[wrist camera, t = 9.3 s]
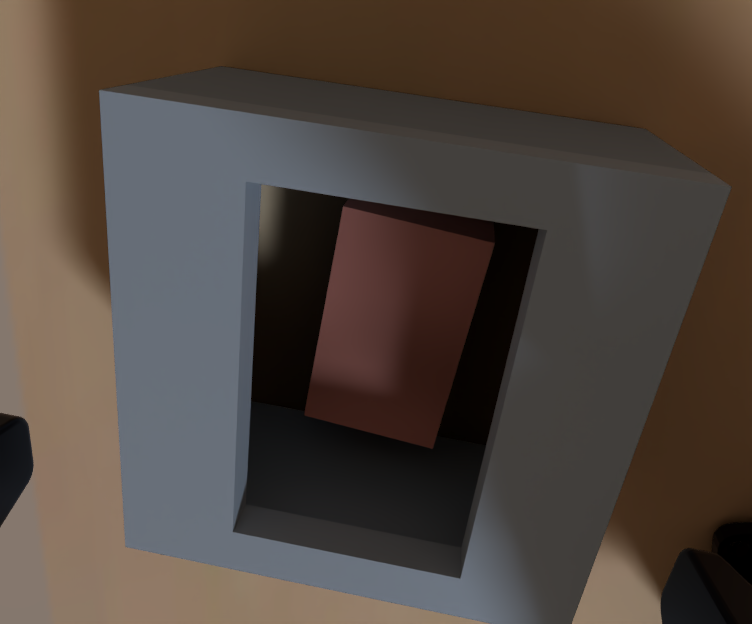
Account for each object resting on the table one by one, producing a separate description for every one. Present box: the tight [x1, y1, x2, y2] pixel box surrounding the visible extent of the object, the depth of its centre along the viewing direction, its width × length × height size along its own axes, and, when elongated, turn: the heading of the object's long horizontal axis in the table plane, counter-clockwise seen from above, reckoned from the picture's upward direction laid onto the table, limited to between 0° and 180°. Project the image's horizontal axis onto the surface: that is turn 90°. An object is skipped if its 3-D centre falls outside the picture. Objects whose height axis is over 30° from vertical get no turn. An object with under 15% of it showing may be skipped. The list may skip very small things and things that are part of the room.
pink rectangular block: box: [304, 198, 495, 449], centre depth 15 cm, size 5×3×2 cm, turn 168°
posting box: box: [99, 66, 732, 624], centre depth 13 cm, size 9×9×5 cm
